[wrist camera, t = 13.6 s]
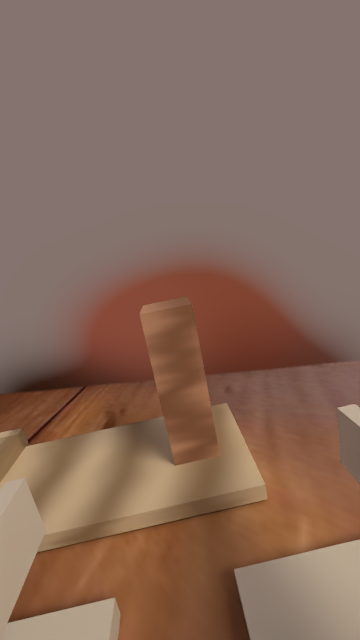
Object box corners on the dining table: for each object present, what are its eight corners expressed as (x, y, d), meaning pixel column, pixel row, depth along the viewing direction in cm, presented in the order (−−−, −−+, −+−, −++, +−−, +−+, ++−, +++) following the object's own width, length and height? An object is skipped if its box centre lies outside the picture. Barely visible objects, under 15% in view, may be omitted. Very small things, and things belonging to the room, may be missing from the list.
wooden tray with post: (-236, 623, 16) (-387, 437, 13) (-77, 476, 26) (-138, 356, 23) (270, 506, 17) (242, 306, 14) (227, 410, 27) (206, 286, 24)
